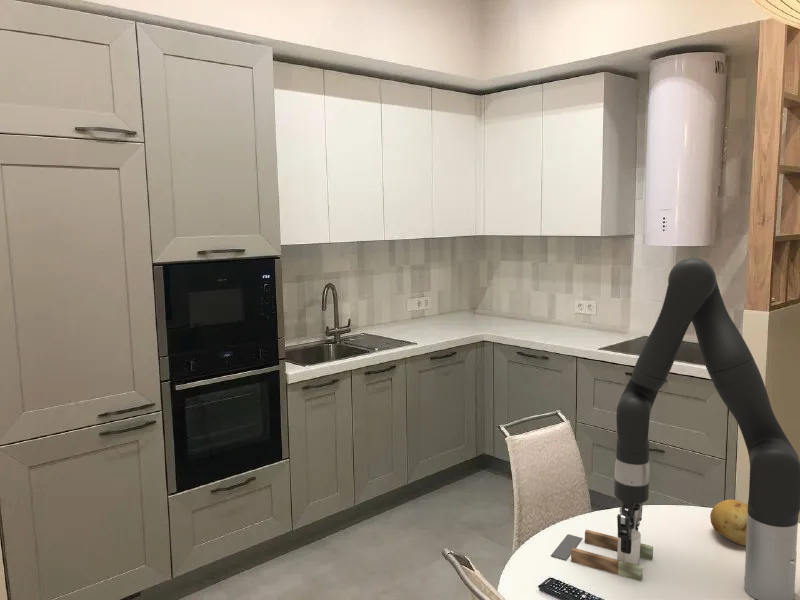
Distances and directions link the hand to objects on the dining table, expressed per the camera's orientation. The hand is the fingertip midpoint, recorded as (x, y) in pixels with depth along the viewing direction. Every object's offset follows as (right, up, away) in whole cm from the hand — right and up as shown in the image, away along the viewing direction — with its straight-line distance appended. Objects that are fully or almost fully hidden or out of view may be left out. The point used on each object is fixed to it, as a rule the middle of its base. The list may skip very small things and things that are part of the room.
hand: (629, 546), depth 147 cm
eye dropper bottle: (0, -5, +1) cm, 5 cm away
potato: (+30, -3, +10) cm, 32 cm away
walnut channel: (-3, -4, +3) cm, 6 cm away
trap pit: (-12, -4, +9) cm, 16 cm away
